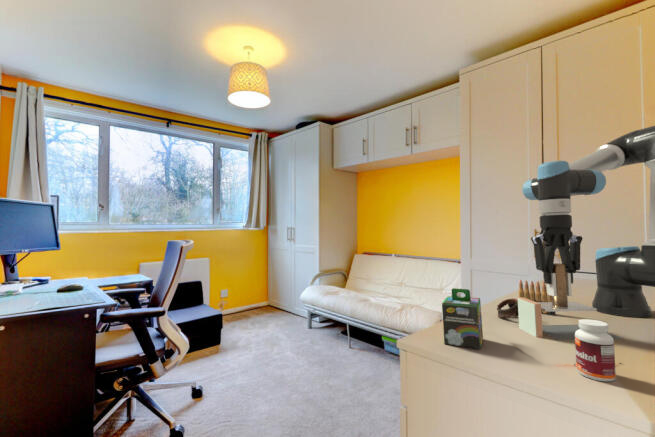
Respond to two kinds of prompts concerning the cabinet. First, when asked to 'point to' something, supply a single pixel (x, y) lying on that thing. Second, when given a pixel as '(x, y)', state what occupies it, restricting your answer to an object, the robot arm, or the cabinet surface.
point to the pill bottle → (595, 351)
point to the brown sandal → (511, 310)
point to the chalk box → (462, 320)
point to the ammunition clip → (538, 294)
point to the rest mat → (565, 332)
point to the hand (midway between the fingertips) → (559, 294)
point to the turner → (562, 294)
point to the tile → (530, 316)
